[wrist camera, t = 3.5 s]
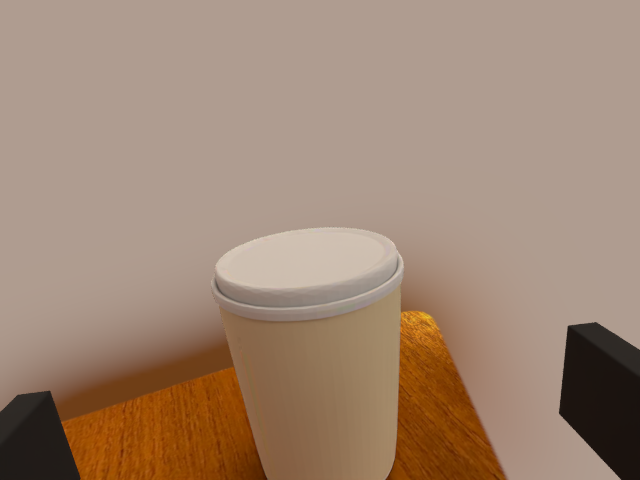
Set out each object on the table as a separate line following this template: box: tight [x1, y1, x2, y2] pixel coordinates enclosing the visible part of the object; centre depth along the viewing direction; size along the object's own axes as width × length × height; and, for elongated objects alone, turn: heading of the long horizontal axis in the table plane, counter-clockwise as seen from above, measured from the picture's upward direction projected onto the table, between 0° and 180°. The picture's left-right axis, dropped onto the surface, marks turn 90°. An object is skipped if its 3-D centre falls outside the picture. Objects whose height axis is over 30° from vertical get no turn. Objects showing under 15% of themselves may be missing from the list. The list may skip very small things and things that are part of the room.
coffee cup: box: [211, 227, 404, 480], centre depth 21 cm, size 9×9×12 cm
